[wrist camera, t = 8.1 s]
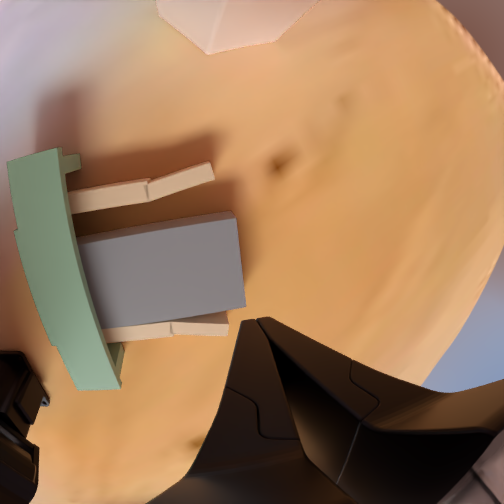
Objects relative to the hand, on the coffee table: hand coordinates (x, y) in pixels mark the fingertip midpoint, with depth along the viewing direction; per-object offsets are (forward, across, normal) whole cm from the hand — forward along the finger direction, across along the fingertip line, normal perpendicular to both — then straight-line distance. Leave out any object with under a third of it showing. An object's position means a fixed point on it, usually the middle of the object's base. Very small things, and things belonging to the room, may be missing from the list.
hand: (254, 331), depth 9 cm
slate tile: (+13, +4, +2) cm, 14 cm away
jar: (+12, -2, -16) cm, 20 cm away
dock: (+12, +5, +2) cm, 13 cm away
